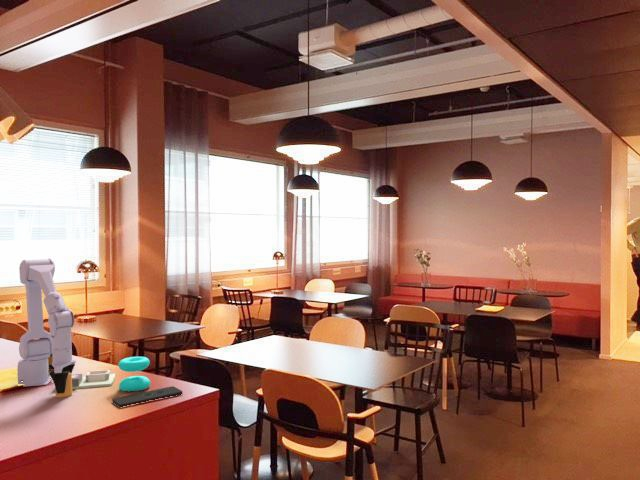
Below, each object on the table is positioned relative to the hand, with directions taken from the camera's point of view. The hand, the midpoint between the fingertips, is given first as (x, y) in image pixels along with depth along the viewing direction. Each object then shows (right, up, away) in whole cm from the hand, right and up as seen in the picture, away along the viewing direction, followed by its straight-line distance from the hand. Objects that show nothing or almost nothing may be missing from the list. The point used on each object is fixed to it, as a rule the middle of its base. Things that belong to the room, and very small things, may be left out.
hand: (63, 389), depth 176 cm
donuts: (+21, -2, +7) cm, 22 cm away
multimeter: (-19, -2, +37) cm, 42 cm away
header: (+4, -2, +17) cm, 18 cm away
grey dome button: (-3, -2, +10) cm, 11 cm away
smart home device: (+29, -2, -5) cm, 30 cm away
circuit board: (+1, -2, +15) cm, 15 cm away
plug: (0, -2, 0) cm, 2 cm away
